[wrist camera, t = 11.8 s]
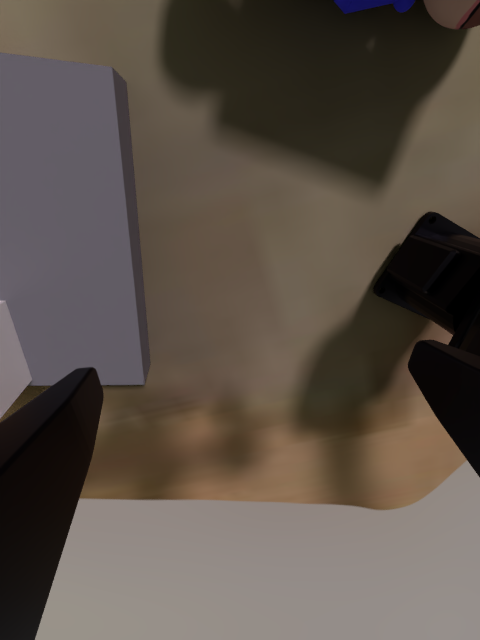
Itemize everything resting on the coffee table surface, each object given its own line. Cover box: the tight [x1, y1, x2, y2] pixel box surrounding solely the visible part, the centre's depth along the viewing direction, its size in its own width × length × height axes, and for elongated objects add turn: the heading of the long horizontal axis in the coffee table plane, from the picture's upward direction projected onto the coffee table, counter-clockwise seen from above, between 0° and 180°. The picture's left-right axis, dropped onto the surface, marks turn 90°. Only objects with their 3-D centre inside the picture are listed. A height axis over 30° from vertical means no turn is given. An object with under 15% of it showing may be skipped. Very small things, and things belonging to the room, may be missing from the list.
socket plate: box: [0, 53, 150, 386], centre depth 17 cm, size 14×18×2 cm
